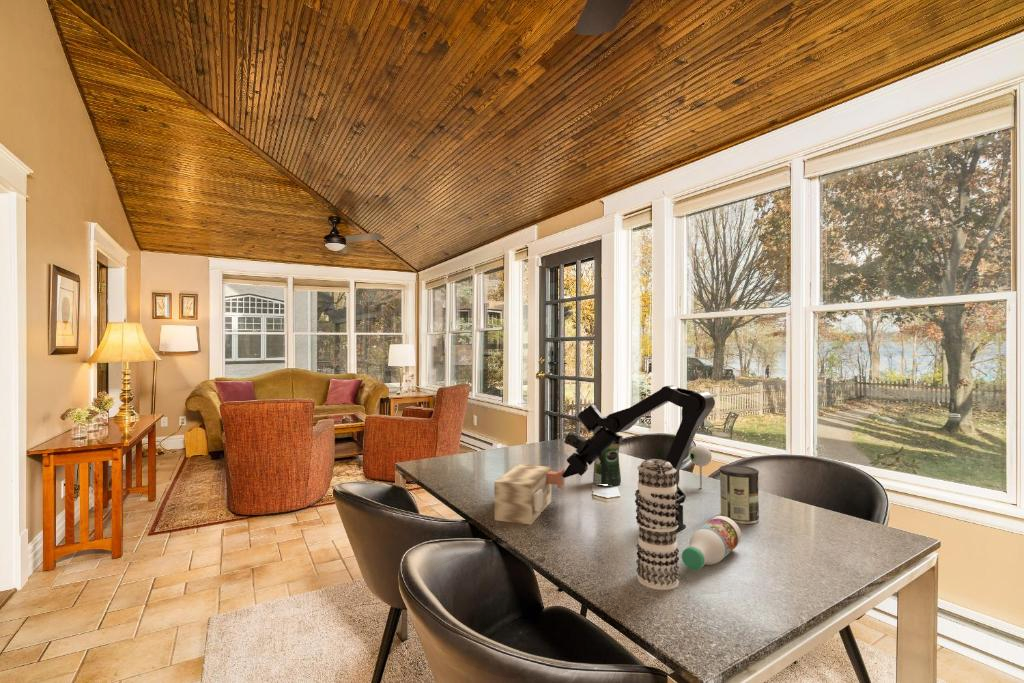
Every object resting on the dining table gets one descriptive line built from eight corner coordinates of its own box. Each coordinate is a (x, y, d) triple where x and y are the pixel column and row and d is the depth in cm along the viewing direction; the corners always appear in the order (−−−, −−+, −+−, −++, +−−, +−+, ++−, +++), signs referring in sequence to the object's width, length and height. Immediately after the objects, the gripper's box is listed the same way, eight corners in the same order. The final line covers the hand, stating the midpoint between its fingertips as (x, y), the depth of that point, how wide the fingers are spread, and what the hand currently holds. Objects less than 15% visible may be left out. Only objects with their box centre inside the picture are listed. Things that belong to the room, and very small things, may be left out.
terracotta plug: (564, 484, 151) (564, 469, 151) (560, 488, 146) (560, 472, 146) (528, 480, 155) (528, 466, 155) (523, 484, 150) (523, 469, 150)
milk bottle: (731, 553, 116) (698, 586, 102) (704, 530, 121) (668, 558, 106) (748, 531, 113) (716, 561, 99) (719, 508, 118) (684, 533, 104)
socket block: (551, 501, 153) (551, 466, 153) (531, 524, 133) (531, 485, 133) (518, 497, 157) (518, 464, 157) (494, 520, 136) (494, 481, 136)
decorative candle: (687, 579, 101) (686, 461, 101) (669, 595, 94) (668, 469, 94) (647, 566, 107) (646, 454, 107) (627, 581, 100) (626, 462, 101)
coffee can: (748, 511, 143) (747, 464, 143) (766, 524, 133) (765, 473, 133) (713, 511, 143) (713, 464, 143) (729, 524, 132) (729, 473, 133)
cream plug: (542, 505, 138) (542, 489, 138) (538, 511, 133) (538, 493, 133) (504, 501, 142) (503, 485, 142) (498, 506, 137) (498, 489, 137)
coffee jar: (612, 479, 178) (611, 430, 178) (624, 485, 171) (623, 433, 171) (589, 482, 175) (589, 431, 175) (601, 488, 167) (600, 435, 168)
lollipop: (685, 486, 169) (685, 444, 169) (702, 484, 171) (702, 443, 171) (699, 492, 162) (698, 448, 162) (716, 490, 164) (716, 447, 165)
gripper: (585, 419, 156) (553, 450, 159) (573, 428, 138) (537, 463, 142) (610, 445, 153) (576, 476, 157) (601, 457, 136) (563, 492, 139)
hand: (563, 476), depth 149 cm, fingers closed, pressing on terracotta plug
